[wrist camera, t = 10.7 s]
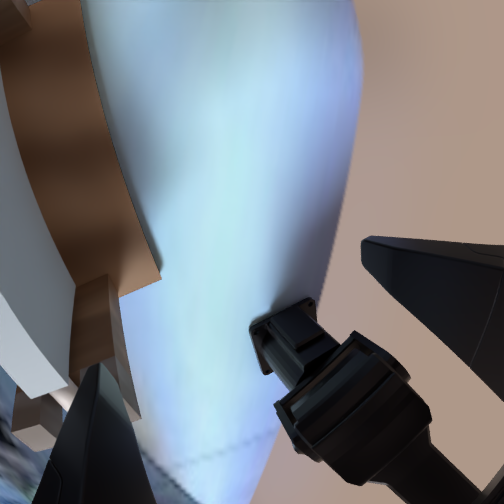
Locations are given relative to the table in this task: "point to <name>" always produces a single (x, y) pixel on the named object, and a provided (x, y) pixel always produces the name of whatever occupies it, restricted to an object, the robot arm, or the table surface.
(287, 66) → the table surface
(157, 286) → the table surface
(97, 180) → the hinge frame
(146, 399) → the table surface
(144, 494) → the robot arm
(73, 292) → the door
